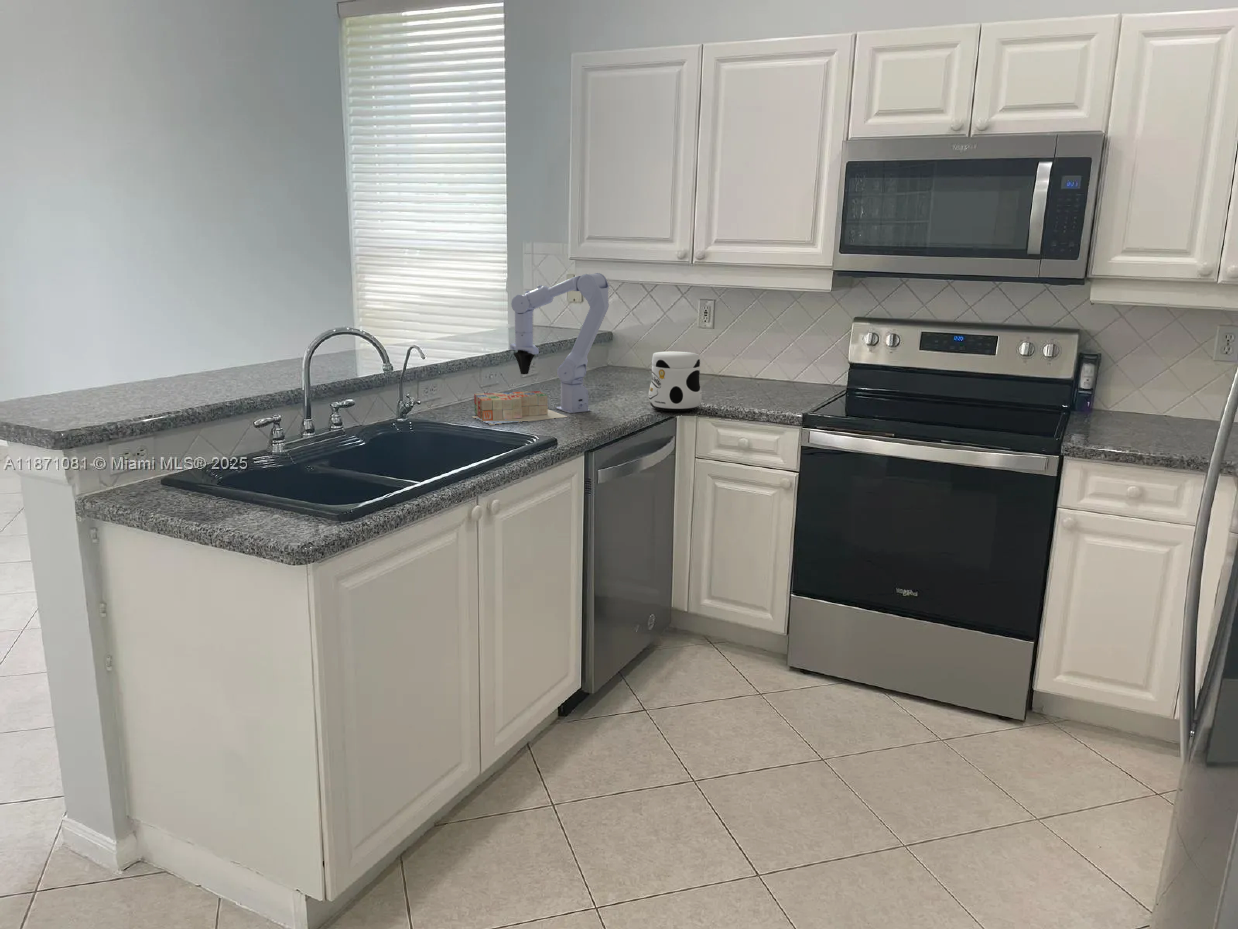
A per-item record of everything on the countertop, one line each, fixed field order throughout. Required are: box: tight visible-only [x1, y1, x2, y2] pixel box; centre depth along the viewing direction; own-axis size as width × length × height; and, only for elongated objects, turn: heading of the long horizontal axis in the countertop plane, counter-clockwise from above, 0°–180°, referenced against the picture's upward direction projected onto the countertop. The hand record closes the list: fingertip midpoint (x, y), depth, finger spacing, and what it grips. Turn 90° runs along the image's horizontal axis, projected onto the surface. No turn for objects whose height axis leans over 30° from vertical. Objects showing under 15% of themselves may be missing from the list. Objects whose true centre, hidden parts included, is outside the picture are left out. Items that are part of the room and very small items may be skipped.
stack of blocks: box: [473, 390, 549, 421], centre depth 280 cm, size 21×6×12 cm
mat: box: [471, 409, 569, 426], centre depth 279 cm, size 14×26×1 cm, turn 122°
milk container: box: [648, 350, 703, 412], centre depth 292 cm, size 17×17×18 cm
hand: (524, 373), depth 295 cm, fingers closed
